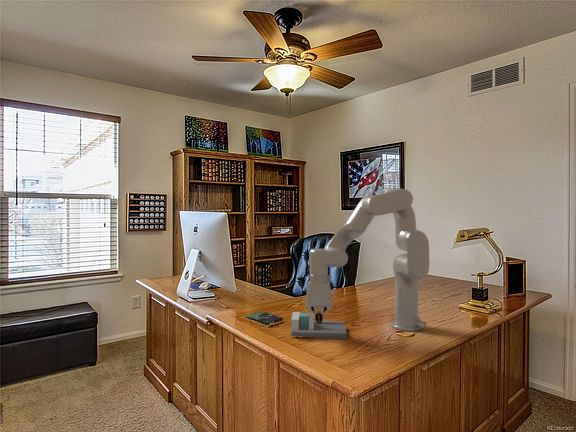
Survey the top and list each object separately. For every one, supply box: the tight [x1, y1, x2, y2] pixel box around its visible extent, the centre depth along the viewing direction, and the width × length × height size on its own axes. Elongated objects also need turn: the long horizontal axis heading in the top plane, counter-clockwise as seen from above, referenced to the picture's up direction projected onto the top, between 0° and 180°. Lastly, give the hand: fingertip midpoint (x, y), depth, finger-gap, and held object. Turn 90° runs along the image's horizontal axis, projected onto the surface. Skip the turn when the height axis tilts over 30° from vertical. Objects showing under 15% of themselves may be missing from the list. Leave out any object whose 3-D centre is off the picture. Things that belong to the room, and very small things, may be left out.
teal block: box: [299, 312, 310, 330], centre depth 151 cm, size 4×5×6 cm
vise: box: [290, 311, 348, 339], centre depth 150 cm, size 22×12×7 cm, turn 86°
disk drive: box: [244, 311, 284, 325], centre depth 166 cm, size 10×3×15 cm
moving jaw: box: [308, 312, 315, 330], centre depth 150 cm, size 2×10×4 cm, turn 176°
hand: (318, 322), depth 150 cm, fingers closed
